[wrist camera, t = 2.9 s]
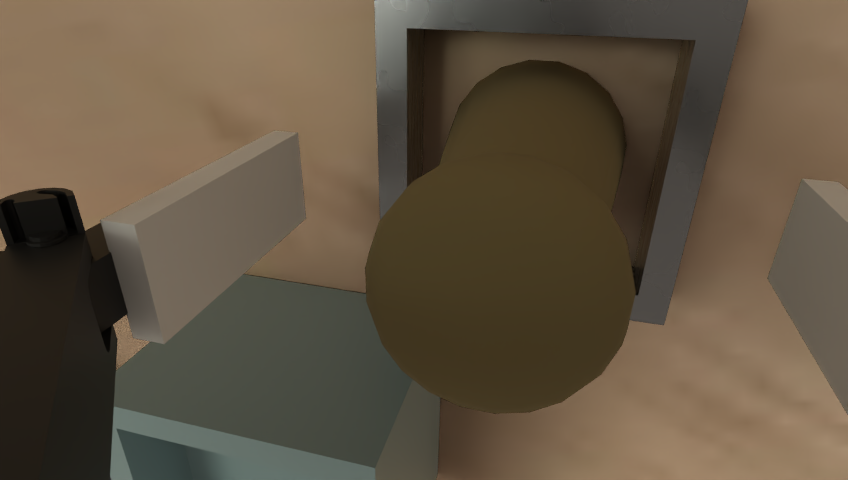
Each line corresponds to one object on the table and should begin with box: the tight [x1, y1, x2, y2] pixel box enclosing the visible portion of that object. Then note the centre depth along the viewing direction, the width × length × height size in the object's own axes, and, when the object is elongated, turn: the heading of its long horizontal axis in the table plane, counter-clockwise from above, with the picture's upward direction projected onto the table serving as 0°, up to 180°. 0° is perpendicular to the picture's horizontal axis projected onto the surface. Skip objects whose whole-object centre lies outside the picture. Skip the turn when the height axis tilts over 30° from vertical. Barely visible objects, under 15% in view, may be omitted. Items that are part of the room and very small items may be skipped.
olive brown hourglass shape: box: [365, 60, 636, 414], centre depth 14 cm, size 6×6×11 cm
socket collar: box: [374, 0, 748, 325], centre depth 18 cm, size 10×10×2 cm
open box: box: [110, 274, 440, 480], centre depth 22 cm, size 10×10×8 cm
